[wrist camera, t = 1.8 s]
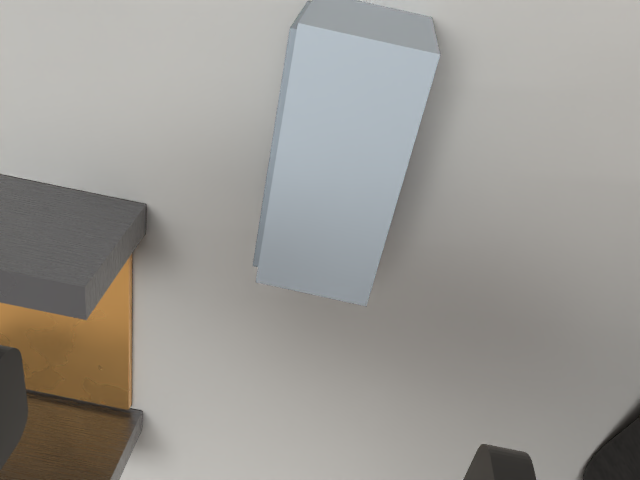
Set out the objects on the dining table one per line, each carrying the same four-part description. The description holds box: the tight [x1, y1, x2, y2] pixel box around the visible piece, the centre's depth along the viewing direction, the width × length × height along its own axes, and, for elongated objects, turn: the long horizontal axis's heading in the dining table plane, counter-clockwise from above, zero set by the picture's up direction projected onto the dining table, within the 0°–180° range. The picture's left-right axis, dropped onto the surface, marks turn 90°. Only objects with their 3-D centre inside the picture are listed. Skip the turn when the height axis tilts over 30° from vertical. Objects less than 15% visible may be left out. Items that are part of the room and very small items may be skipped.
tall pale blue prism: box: [253, 0, 440, 306], centre depth 21 cm, size 9×4×5 cm, turn 169°
